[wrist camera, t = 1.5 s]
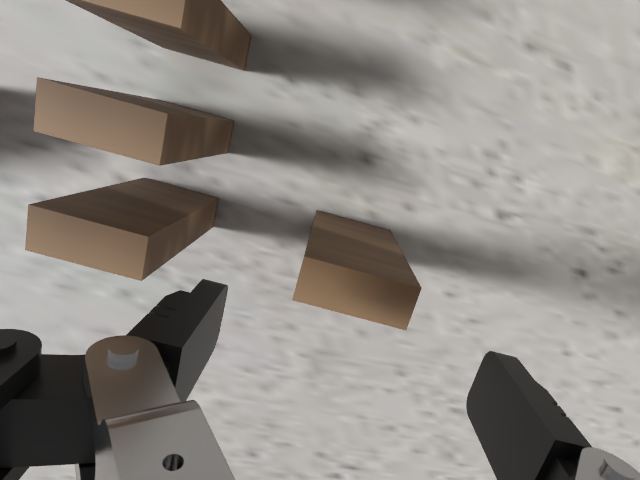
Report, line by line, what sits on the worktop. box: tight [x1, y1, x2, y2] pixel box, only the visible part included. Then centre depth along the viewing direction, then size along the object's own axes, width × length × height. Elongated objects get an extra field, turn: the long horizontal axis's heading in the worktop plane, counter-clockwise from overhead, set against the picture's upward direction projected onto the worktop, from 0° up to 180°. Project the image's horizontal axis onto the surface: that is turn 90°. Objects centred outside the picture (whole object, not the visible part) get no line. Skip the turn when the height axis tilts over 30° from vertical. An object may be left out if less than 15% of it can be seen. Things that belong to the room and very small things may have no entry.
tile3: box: [66, 0, 251, 70], centre depth 19 cm, size 2×5×10 cm, turn 75°
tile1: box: [25, 178, 219, 281], centre depth 21 cm, size 2×5×10 cm, turn 75°
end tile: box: [293, 211, 421, 330], centre depth 21 cm, size 2×5×10 cm, turn 75°
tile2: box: [33, 77, 234, 166], centre depth 20 cm, size 2×5×10 cm, turn 75°
